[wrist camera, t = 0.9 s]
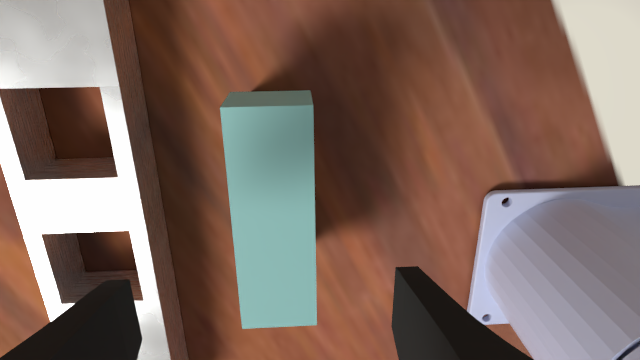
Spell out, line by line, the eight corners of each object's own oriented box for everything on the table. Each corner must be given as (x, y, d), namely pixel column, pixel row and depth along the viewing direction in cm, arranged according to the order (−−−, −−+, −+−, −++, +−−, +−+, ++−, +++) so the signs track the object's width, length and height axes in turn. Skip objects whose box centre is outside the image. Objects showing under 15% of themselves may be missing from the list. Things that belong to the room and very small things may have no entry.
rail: (106, -131, 15) (74, -154, 13) (191, 374, 25) (180, 413, 22) (-40, -132, 15) (-99, -155, 13) (101, 379, 24) (81, 419, 22)
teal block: (307, 79, 19) (313, 105, 14) (311, 257, 22) (316, 325, 18) (237, 80, 18) (220, 107, 14) (252, 259, 22) (242, 328, 17)
